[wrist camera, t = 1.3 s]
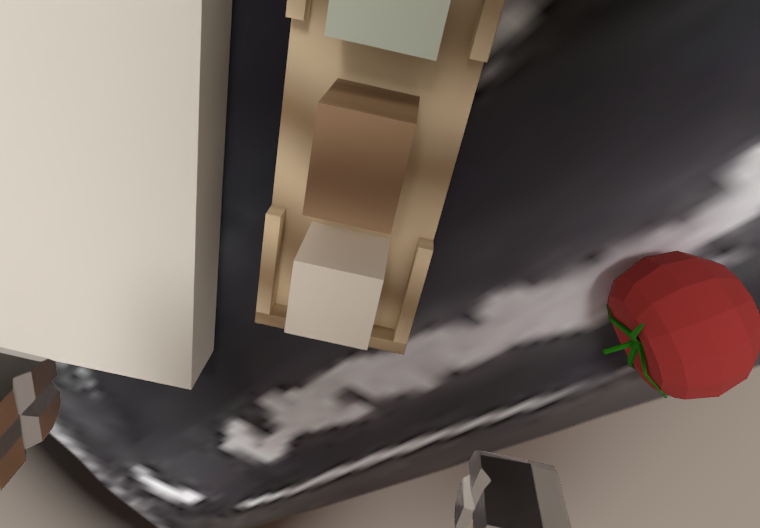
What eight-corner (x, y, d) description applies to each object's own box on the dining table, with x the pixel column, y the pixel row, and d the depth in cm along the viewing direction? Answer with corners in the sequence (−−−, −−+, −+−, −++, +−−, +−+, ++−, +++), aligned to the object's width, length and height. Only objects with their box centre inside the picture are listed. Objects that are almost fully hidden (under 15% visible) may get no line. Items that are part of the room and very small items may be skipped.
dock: (-135, -282, 22) (-245, -328, 19) (242, -193, 23) (206, -222, 19) (-13, 301, 37) (-61, 338, 34) (213, 350, 38) (189, 391, 34)
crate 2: (312, 221, 29) (293, 260, 26) (390, 238, 30) (383, 280, 26) (302, 287, 32) (284, 332, 28) (375, 303, 32) (366, 350, 28)
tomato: (827, 351, 23) (656, 416, 24) (760, 383, 30) (629, 432, 31) (718, 205, 27) (572, 265, 28) (681, 263, 34) (565, 310, 35)
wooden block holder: (325, -172, 23) (280, -225, 16) (528, -124, 23) (565, -157, 17) (272, 287, 35) (233, 364, 28) (406, 316, 35) (400, 400, 29)
